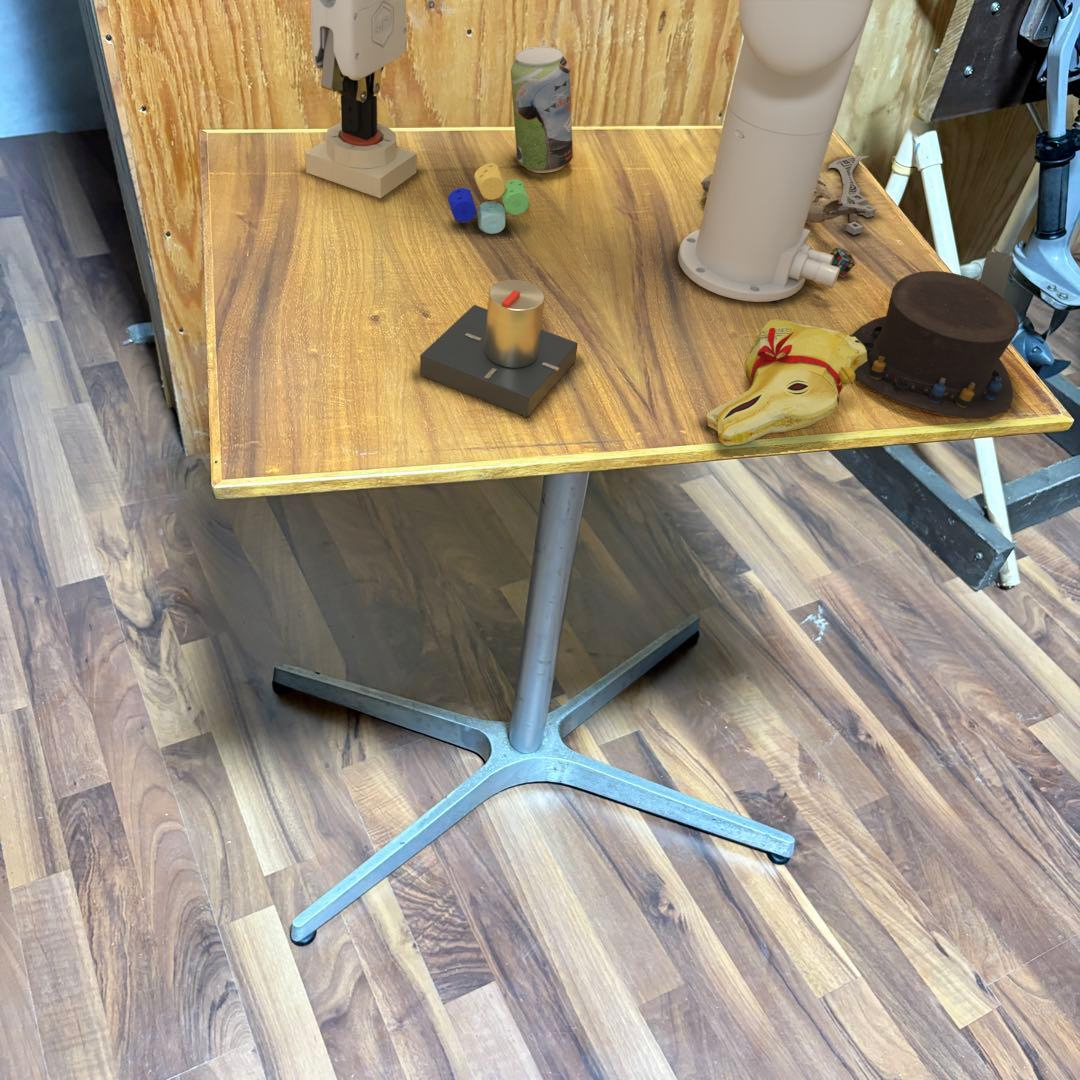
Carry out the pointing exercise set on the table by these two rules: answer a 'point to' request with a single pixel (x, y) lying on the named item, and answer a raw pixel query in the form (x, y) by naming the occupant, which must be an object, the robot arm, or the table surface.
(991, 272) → the top hat
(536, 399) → the dial panel
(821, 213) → the prawn
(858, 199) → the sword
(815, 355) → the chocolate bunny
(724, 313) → the table surface
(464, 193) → the dice
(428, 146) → the table surface
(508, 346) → the temp dial
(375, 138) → the red push button
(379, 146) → the button base
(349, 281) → the table surface
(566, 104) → the beverage can
